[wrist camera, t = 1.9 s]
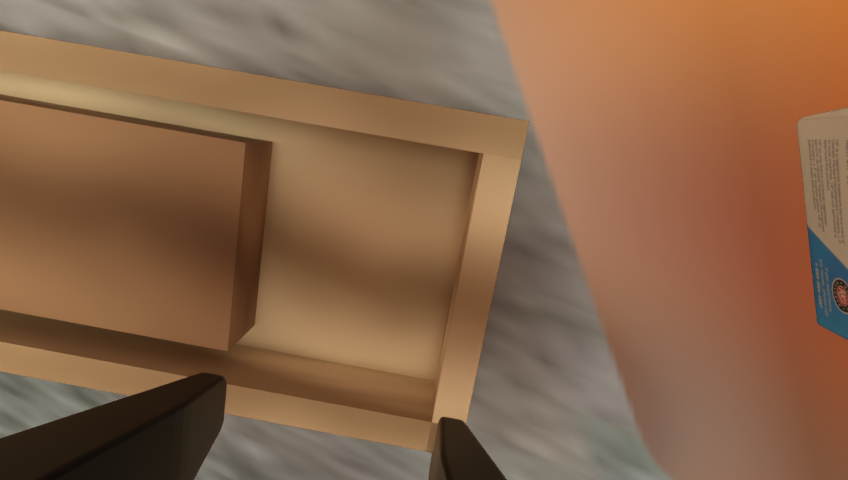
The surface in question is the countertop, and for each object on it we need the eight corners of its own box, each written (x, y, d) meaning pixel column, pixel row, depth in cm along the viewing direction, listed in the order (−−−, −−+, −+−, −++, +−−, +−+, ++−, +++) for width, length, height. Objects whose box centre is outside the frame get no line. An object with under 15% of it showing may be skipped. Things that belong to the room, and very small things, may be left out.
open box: (457, 399, 22) (458, 457, 18) (-22, 310, 22) (-124, 347, 18) (514, 124, 19) (529, 121, 15) (-32, 30, 20) (-153, 4, 16)
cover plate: (254, 325, 20) (227, 351, 18) (-23, 274, 21) (-87, 292, 18) (272, 141, 19) (245, 142, 16) (-30, 88, 19) (-101, 82, 17)
